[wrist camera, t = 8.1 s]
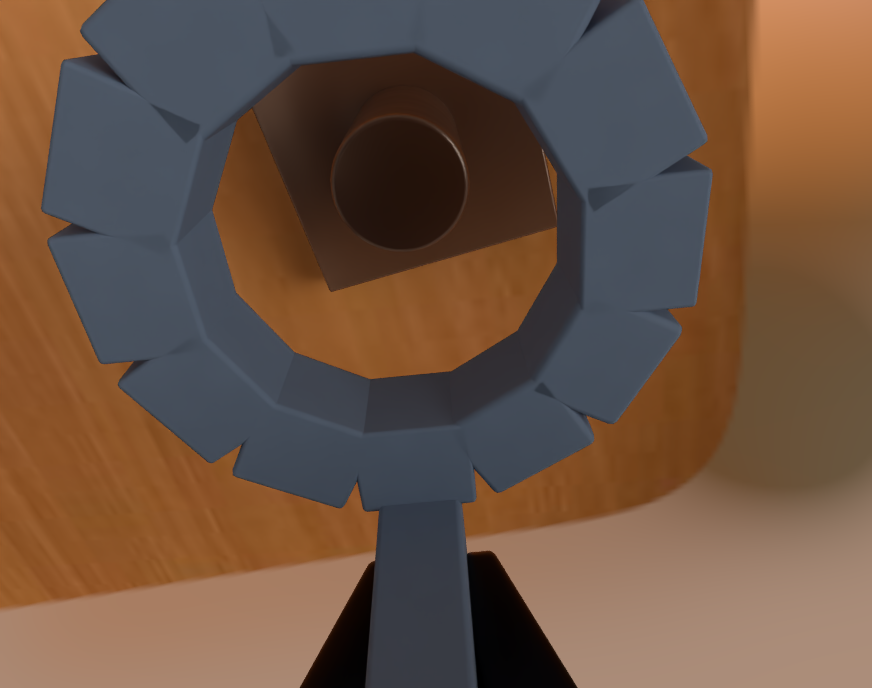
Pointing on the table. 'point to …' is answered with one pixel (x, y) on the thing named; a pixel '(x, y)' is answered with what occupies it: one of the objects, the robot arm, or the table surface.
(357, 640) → the robot arm
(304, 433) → the ring
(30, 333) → the table surface
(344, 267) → the peg stand
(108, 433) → the table surface
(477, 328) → the table surface
